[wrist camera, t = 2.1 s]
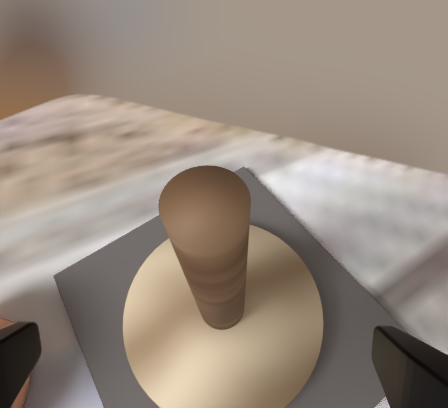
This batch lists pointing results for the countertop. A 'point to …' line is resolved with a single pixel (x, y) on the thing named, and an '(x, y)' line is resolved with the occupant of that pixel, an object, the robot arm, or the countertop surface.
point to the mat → (275, 224)
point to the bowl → (21, 397)
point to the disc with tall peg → (220, 304)
